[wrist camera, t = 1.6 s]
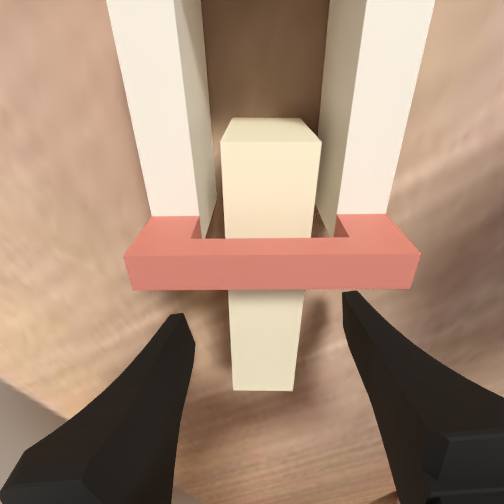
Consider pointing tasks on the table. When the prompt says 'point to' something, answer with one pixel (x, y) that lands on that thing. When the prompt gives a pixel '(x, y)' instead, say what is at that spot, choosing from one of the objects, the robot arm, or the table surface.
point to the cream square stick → (267, 226)
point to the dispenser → (331, 158)
